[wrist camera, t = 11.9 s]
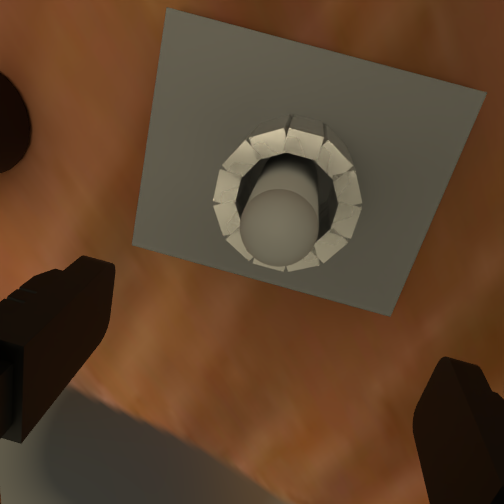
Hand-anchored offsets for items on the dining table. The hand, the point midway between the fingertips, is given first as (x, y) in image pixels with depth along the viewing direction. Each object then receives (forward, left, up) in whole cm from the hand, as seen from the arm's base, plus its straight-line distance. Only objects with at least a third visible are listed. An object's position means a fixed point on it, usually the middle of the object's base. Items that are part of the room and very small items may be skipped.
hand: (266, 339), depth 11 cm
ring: (0, 0, -15) cm, 15 cm away
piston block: (0, 0, -17) cm, 17 cm away
